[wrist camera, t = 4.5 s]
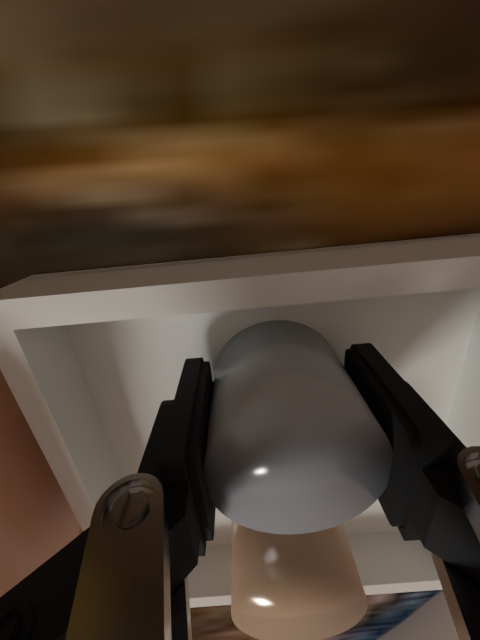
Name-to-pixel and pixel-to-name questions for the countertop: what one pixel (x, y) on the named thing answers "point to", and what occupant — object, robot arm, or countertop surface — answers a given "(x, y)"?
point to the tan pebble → (294, 584)
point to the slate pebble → (290, 434)
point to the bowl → (27, 499)
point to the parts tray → (208, 340)
